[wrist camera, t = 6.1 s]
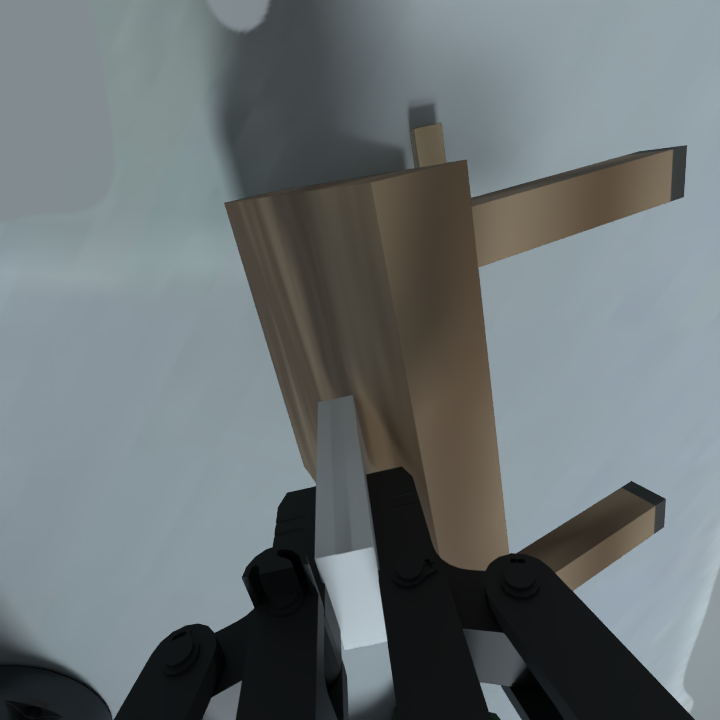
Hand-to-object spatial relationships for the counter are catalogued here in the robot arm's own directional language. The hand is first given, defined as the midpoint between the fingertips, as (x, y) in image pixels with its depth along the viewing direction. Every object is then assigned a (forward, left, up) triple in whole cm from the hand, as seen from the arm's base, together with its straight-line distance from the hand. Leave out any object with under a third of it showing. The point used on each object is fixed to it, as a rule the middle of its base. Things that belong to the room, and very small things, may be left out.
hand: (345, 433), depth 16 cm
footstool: (+1, 0, -13) cm, 13 cm away
